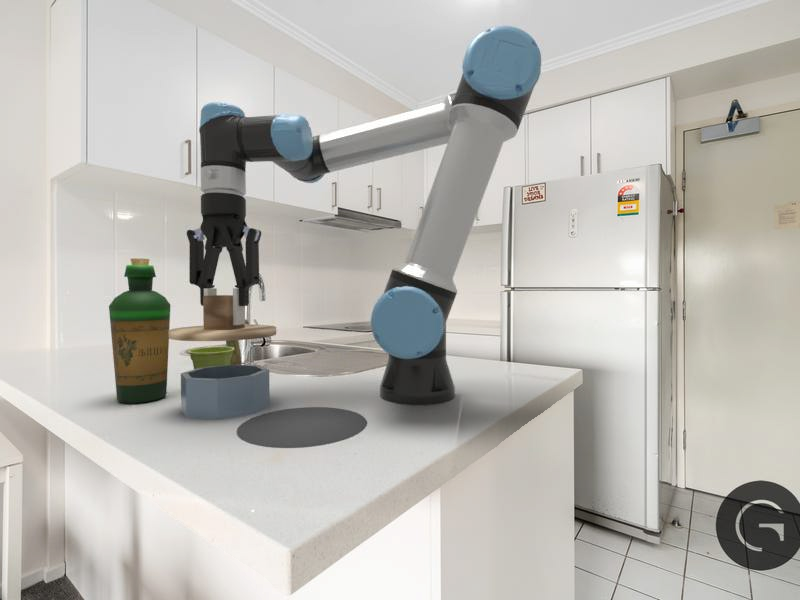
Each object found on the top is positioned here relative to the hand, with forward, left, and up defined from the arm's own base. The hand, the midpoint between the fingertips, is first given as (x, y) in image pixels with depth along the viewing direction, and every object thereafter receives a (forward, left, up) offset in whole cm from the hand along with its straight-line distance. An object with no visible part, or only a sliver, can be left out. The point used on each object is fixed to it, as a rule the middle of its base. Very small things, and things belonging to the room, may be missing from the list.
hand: (224, 324), depth 78 cm
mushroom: (+17, -29, -16) cm, 37 cm away
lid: (0, 0, -2) cm, 2 cm away
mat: (-18, +7, -16) cm, 25 cm away
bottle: (+21, -4, -16) cm, 27 cm away
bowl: (0, 0, -16) cm, 16 cm away
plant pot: (+13, -15, -16) cm, 25 cm away
